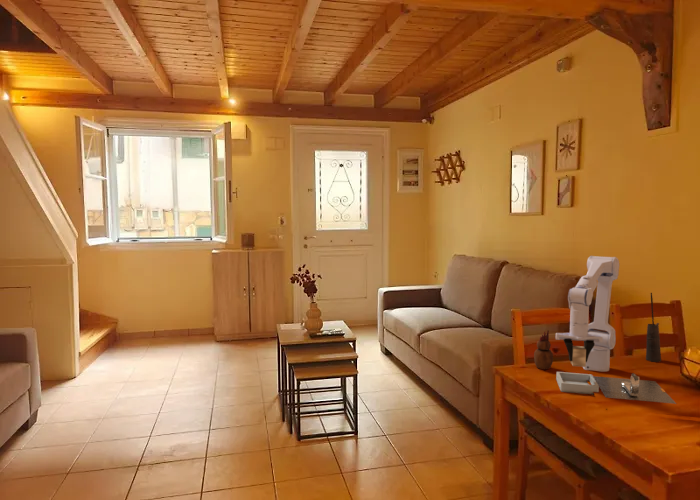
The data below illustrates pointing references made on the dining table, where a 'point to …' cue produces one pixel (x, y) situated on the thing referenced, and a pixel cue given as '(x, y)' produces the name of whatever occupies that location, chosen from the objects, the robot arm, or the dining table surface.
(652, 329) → the butter churn
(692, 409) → the dining table surface
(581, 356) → the block
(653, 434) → the dining table surface
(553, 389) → the dining table surface
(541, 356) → the wooden figurine
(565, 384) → the tray
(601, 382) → the base plate
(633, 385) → the crank
